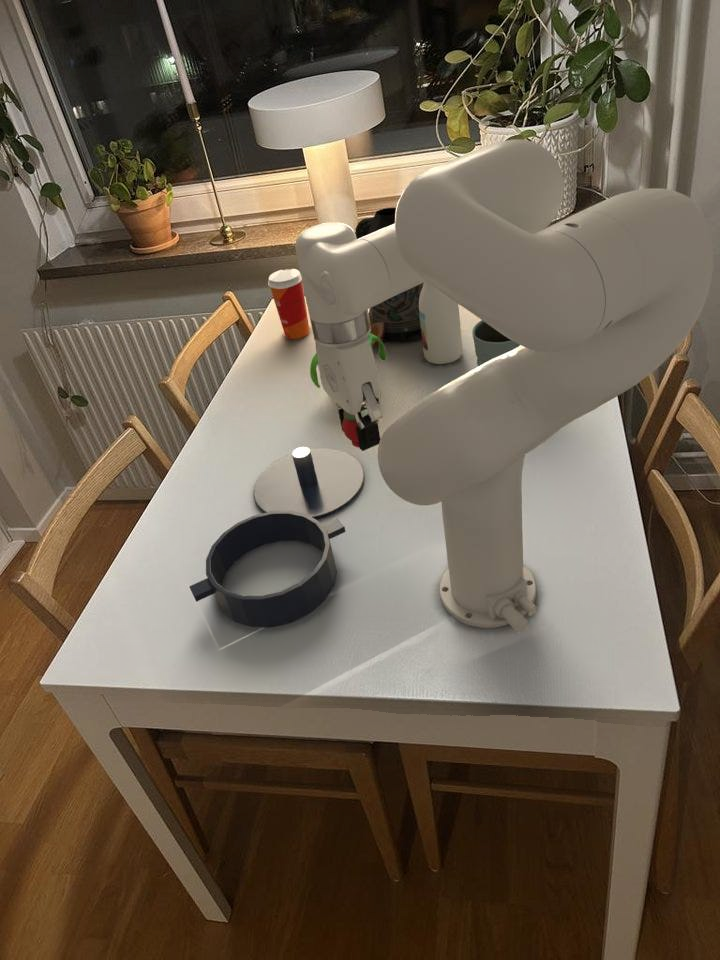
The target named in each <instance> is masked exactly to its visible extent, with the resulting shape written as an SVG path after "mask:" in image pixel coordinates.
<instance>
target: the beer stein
mask: <svg viewBox="0 0 720 960" xmlns="http://www.w3.org/2000/svg"><path fill="white" fill-rule="evenodd" d="M396 208H397V207H385V208H381V209H378V210H376V212H375V214H374V216H371V217H366V218H365V217H364V218H362V219H361V220H360V221H358V223H357V224H356V227H355V231H354V232H355V235H356V238H357V239H360V238H362V237H364V236H367V235H369V234H371V233H373V232H376V231H378V230H380V229H383V228H385V227H388V226H390V225H393V224H395V213H396ZM423 284H424V282H423V283H421V284H419V285H417V286H415V287H413V288H411V289H408V290H406V291H404V292H402V293H400V294H398V295H396V296H394V297H392V298H390V299H387V300H385V301H384V302H382V303H380V304H378V305H376V306H373V307H371V308H369V309H368V314H369V320H370V323H376V322H384V323H385V333H384V336H383V338H382V339H381V341H382V342H387V343H399V344H400V343H401V344H402V343H403V344H404V343H411V342H416V341H419V340H422V334H421V325H420V315H419V297H420V293H421V290H422V288H423Z"/></svg>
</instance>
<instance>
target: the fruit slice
mask: <svg viewBox="0 0 720 960" xmlns="http://www.w3.org/2000/svg"><path fill="white" fill-rule="evenodd" d="M370 326H371V332H370V333H371V334H373V335H375V336H377V337H378V338H379V339H380V340H381V339H382V338H383V336H384V333H385V323H384V322H376V323H370ZM381 341H382V340H381ZM377 345H379V342H378V341H377V339H374V340H373V347H374V346H377Z"/></svg>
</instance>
